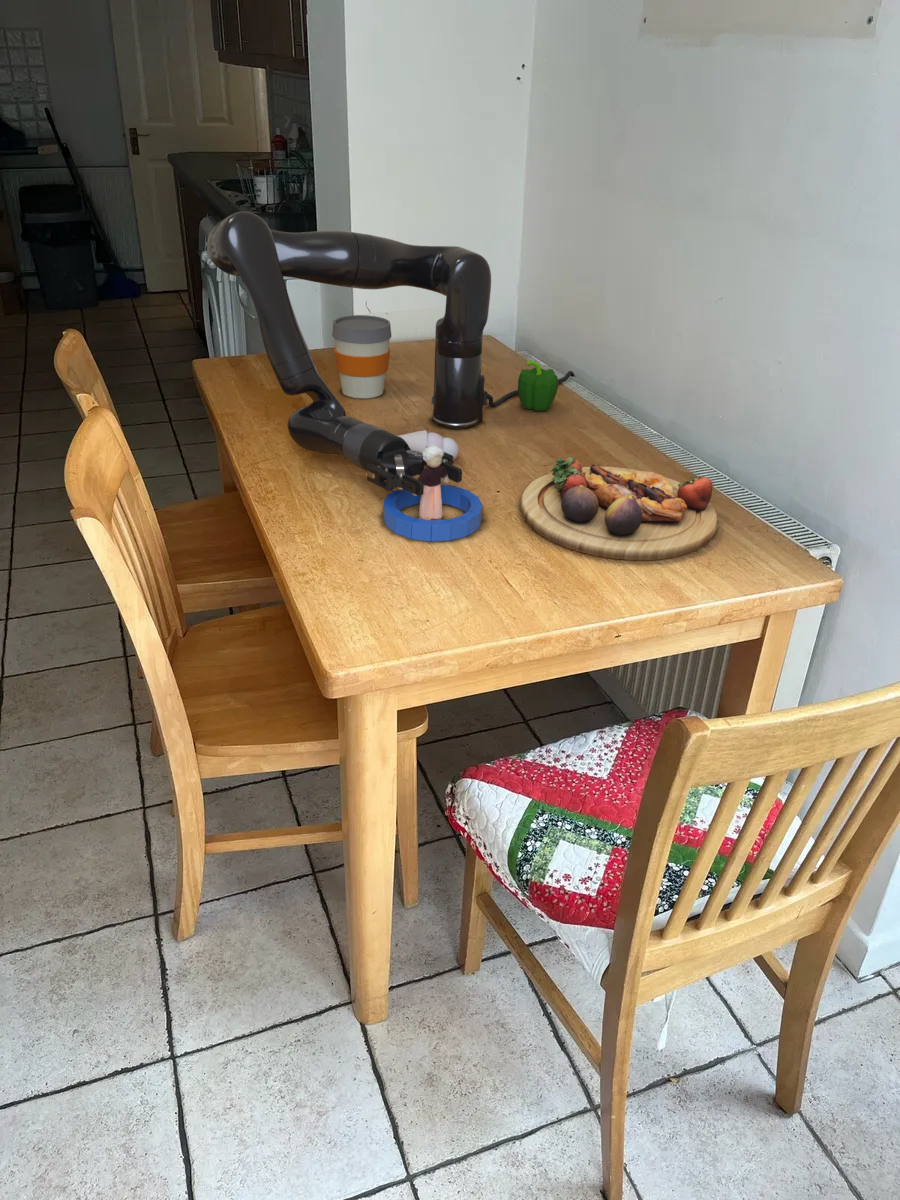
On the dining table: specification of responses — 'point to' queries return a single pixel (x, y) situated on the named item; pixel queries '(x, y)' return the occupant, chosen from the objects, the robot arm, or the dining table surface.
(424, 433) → the ice cream cone
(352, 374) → the reusable coffee cup
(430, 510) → the grandmother figurine
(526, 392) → the bell pepper
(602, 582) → the dining table surface
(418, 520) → the tape ring
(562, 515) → the wooden plate
